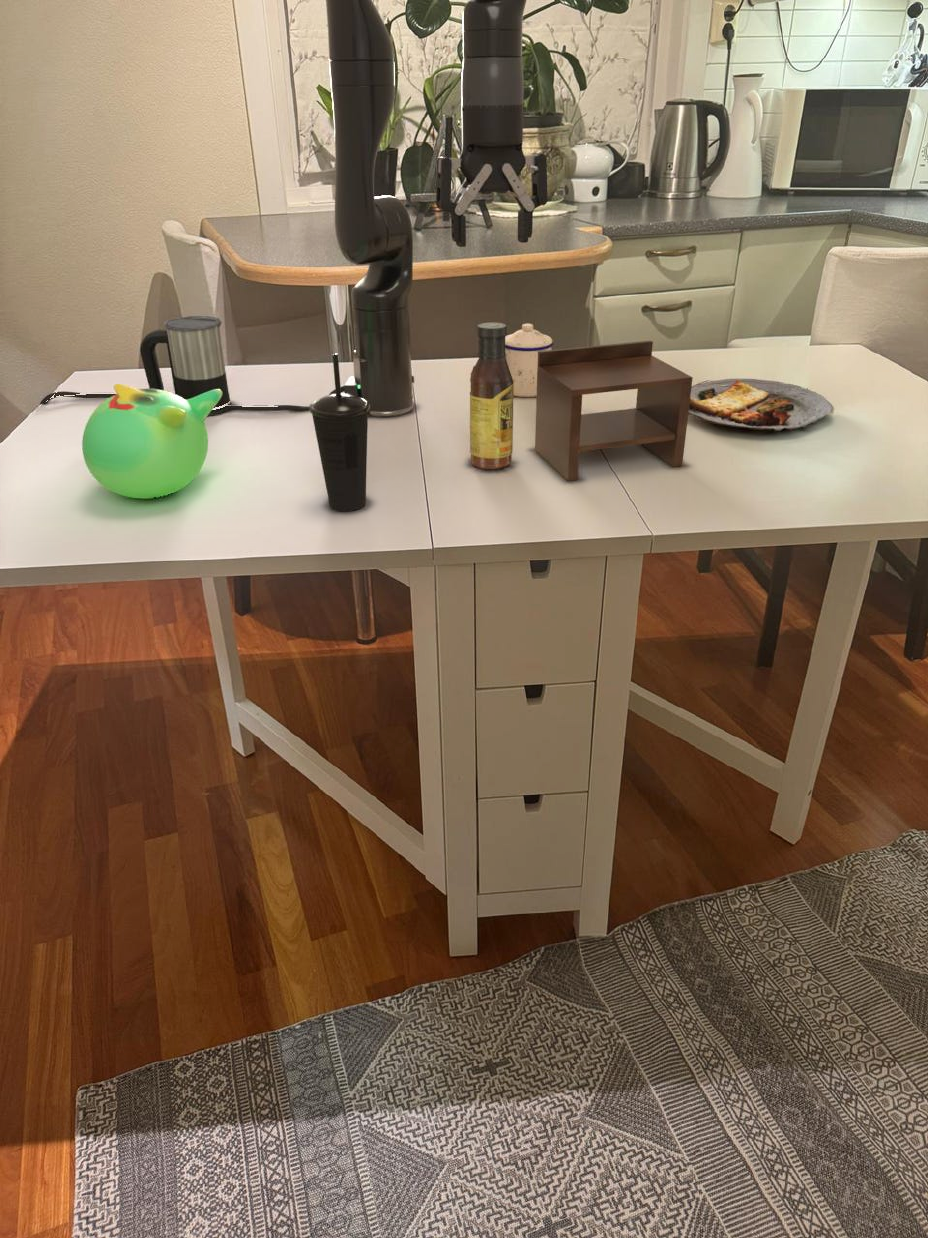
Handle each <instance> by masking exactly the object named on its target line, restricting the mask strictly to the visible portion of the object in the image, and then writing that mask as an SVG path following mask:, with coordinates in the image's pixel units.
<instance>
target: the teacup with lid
mask: <svg viewBox="0 0 928 1238" xmlns="http://www.w3.org/2000/svg"><path fill="white" fill-rule="evenodd" d="M553 345H554V342H553V339H552V337H550V336H549V335H547V334H544V333H541V332H540V331H538V330H537V329H534V325H533V324H532V323H523V324H522V326H521V329H519V330H516V331H515V332H514V333H511V334H508V335H506V337H505V353H506V356H505V357H506V360H507V364H508V367H509V370H510V373H511V376H512V379H513V382H514V394H513V397H518V398H534V397H537V371H538V370H537V365H538V351H546V350H553V349H552V347H553Z"/></svg>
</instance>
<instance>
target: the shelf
mask: <svg viewBox="0 0 928 1238" xmlns="http://www.w3.org/2000/svg"><path fill="white" fill-rule="evenodd" d="M653 345H654V341H653V340H643V341H632V342H631V341H629V342H621V343H611V344H600V345H590V346H588V345H587V346H578V347H569V348H558V349H557V348H556V349H552V350H546V351H538V365H537V370H538V371H537V396H535V397H536V400H535V437H534V451H535V452H536V453H537V454H538V455H539V456H540V457H541V458H543V459H544V461H546V462H547V463H548V464H549V465H550V466H551V467H552V468H553V469H554V470H555V471H556V472H557V473H558V474H560V475H561V476H562V477H563V478H564V479H565V481H567V482H572V481H578V479H579V464H580V463H579V461H580V452H587V451H594V450H602V449H604V450H605V449H611V448H619V447H620V448H621V447H627V446H635V445H642V446H644V447H645V448H646V449H647V450H649V451H651V452H652V453H653V454H654V455H656V456H657V457H659V458H660V459H662V460H663V462H666V463H667V464H668V465H669V466H671V467H672V468H676V467H682V466H683V462H684V454H685V446H686V439H687V438H686V437H687V430H688V429H687V428H688V422H689V421H688V419H689V414H688V413H689V404H690V396H691V387H692V386H693V380H694V379H693V378H694V377H693V376H691V375H689V374H687V373H686V372H683V371H682V370H680V369H678V368H676V367H674V366H672V365H671V364H669V363H667V362H665V361H663V360H661V359H659V358H658V357H655V356H654V355H653ZM631 390H637V391H636V403H635V408H626V409H616V410H609V411H599V412H591V413H583V414H582V408H583V403H582V402H583V396H584V395H595V394H602V393H610V392H611V393H612V392H621V391H631Z"/></svg>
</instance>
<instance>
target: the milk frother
mask: <svg viewBox="0 0 928 1238" xmlns="http://www.w3.org/2000/svg"><path fill="white" fill-rule="evenodd" d="M222 323H223V322H222V320H221V319H220V318H219V317H215V316H208V315H206V316H205V315H203V316H202V315H191V316H182V317H175V318H171V319H168V320H166V321H165V322H163V326H164V327H165V328H161V329H160V328H159V329H155V330H152V331H149V332H148V333H147V334H146V335H145V336H144V338H143V339H142V340H141V343H140V348H139V350H140V357H141V360H142V365H143V369H144V372H145V378H146V380H147V384H148V388H153V389H158V390H163V391H165V386H164V382H163V378H162V374H161V368H160V365H159V359H158V356H157V350H156V346H157V345H158V344H166V347H167V354H168V359H169V360H168V361H169V365H170V366H169V367H170V371H171V378H172V384H173V390H174V394H175V395H178V396H180V397H182V398H183V399H185V400H187V399H191V398H193V397H196V396H198V395H200V394H203V393H205V392H208V391H211V390H214V389H220V390H221V391H222V397H221V398H220V400H219V401H218V403H217V404H216V405H215V407H219V406H222V405H224V404H226V403H228V402H229V401H231V396H230V391H229V386H228V385H229V384H228V379H227V371H226V364H225V363H226V362H225V356H224V348H223V343H222V342H223V341H222V340H223V339H222V333H221V326H222ZM228 405H233V403H232V401H231V402H230V404H228ZM215 407H214V408H215ZM228 411H229V410H228V409H227V408H226V406H225V407H223V408H220V409H216V410H211V412H210V413H209V414H208V415H207V417H209V416H215V415H219V414H223V413H226V412H228Z"/></svg>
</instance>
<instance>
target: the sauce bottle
mask: <svg viewBox="0 0 928 1238" xmlns="http://www.w3.org/2000/svg"><path fill="white" fill-rule="evenodd" d="M476 330H477V331H476V335H477V338H478V352H477V357H478V359H477V361H476V363H475V364H474V366H473V367H472V370H471V372H470V378H469V381H470V385H469V387H470V392H469V452H470V462H471V464H472V465H473V466H474V467H476V468H479V469H483V470H484V469H485V470H496V469H502V468H503V469H504V468H506V467H508V466H509V465H510V464H511V463H512V455H513V450H514V449H513V445H514V444H513V443H514V436H513V435H514V396H513V394H514V382H513V379H512V376H511V373H510V370H509V367H508V364H507V360H506V357H505V356H506V353H505V337H506V336H508V335H507V334H508V332H507V331H508V330H507V325H506V324H505V323H501V322H483V323H479V324H478V325H477V327H476Z"/></svg>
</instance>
